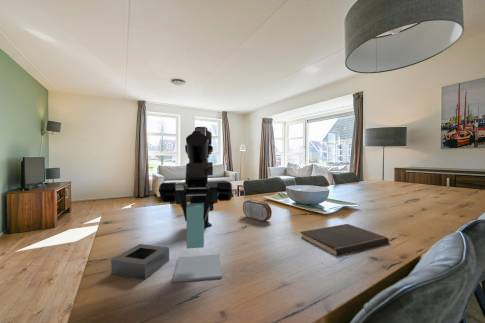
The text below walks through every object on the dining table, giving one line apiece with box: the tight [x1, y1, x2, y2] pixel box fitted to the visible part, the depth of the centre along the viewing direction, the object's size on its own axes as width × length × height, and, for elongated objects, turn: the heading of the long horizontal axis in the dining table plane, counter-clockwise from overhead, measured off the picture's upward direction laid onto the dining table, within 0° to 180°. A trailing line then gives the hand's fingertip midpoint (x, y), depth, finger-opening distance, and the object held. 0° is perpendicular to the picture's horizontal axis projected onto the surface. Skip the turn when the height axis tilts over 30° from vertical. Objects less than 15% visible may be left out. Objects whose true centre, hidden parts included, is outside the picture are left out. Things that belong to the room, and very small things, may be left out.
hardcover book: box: [299, 223, 390, 257], centre depth 72 cm, size 16×23×2 cm
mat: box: [172, 253, 223, 283], centre depth 54 cm, size 11×11×1 cm
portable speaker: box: [242, 198, 273, 222], centre depth 95 cm, size 15×3×8 cm, turn 47°
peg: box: [186, 203, 205, 249], centre depth 53 cm, size 4×4×10 cm
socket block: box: [110, 243, 170, 281], centre depth 54 cm, size 9×9×4 cm
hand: (195, 220), depth 52 cm, fingers closed on peg, 4 cm apart
